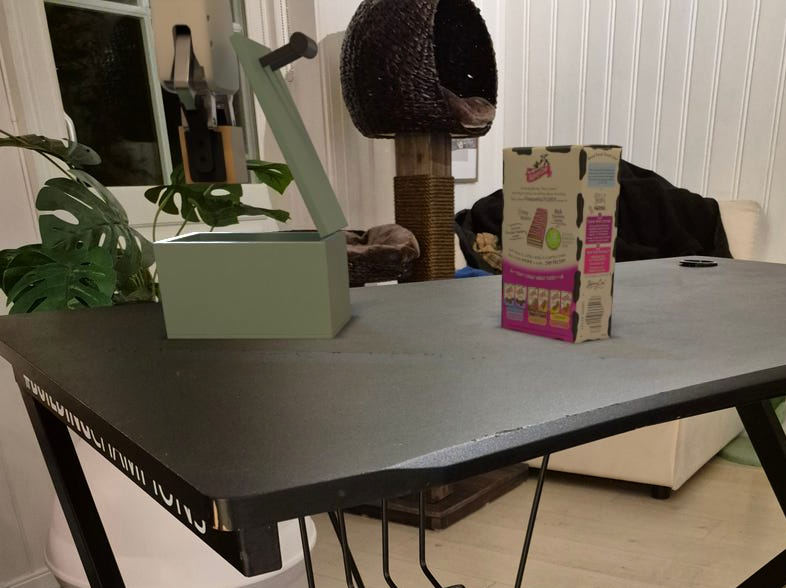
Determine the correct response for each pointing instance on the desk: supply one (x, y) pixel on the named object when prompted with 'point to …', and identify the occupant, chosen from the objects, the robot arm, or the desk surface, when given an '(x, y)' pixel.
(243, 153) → the block
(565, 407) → the desk surface
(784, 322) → the desk surface
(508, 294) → the candy bar box
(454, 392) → the desk surface
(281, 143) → the lid
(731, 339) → the desk surface
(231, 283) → the bin
